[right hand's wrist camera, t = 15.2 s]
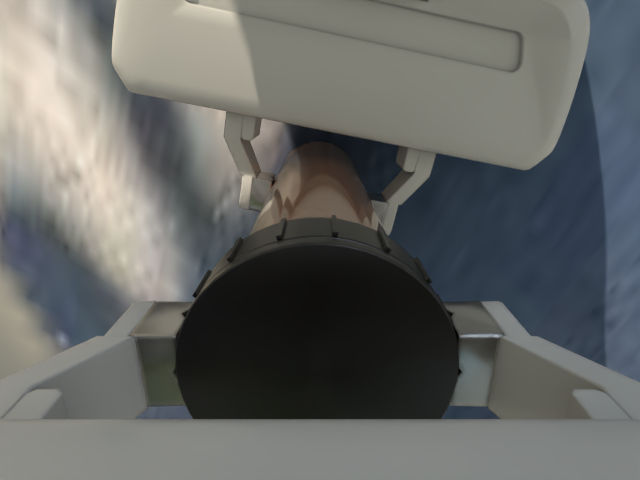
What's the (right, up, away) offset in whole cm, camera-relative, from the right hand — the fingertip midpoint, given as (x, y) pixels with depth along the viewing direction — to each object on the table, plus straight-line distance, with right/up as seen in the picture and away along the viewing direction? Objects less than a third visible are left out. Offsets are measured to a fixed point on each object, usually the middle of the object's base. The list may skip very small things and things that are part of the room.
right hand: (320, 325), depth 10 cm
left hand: (0, +3, +11) cm, 12 cm away
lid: (0, -1, -1) cm, 2 cm away
